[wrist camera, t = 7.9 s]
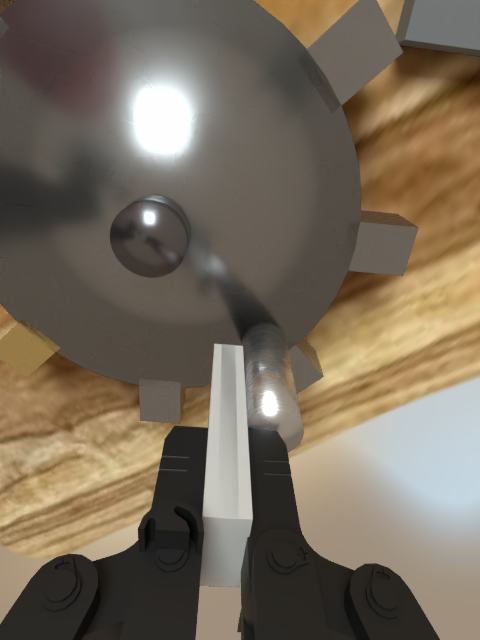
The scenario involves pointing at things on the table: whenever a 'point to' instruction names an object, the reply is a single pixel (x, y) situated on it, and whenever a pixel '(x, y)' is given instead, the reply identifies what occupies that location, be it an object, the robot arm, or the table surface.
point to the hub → (150, 236)
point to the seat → (441, 25)
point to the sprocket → (185, 190)
